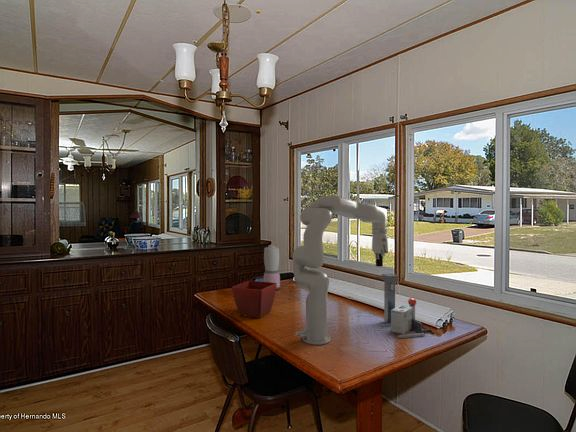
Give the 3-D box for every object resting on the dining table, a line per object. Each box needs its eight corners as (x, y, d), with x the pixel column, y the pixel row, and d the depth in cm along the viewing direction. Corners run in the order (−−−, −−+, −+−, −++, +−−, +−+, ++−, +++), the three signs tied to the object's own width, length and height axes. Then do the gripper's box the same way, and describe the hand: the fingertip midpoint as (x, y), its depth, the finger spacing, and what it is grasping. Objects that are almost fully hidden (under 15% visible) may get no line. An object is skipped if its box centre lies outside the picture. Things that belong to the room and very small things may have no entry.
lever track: (423, 335, 165) (423, 332, 165) (402, 321, 184) (402, 319, 184) (434, 334, 166) (434, 331, 166) (412, 321, 185) (412, 318, 185)
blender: (275, 291, 252) (275, 247, 251) (260, 289, 257) (260, 246, 256) (284, 287, 266) (284, 245, 265) (270, 285, 271) (270, 244, 270)
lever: (411, 325, 177) (411, 299, 177) (406, 322, 182) (406, 297, 182) (418, 325, 178) (418, 299, 178) (413, 322, 183) (413, 296, 183)
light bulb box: (399, 325, 178) (399, 304, 178) (412, 328, 174) (412, 307, 174) (390, 331, 170) (390, 309, 170) (404, 334, 166) (404, 311, 165)
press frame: (398, 338, 161) (398, 284, 160) (375, 321, 185) (375, 274, 184) (425, 336, 163) (425, 283, 163) (399, 319, 187) (399, 273, 187)
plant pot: (231, 316, 194) (230, 286, 193) (249, 307, 211) (249, 280, 210) (261, 321, 185) (260, 290, 185) (277, 311, 203) (277, 282, 202)
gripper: (392, 232, 179) (392, 268, 179) (379, 230, 193) (379, 263, 194) (378, 232, 177) (378, 268, 178) (366, 230, 192) (366, 264, 192)
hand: (379, 266), depth 186 cm, fingers closed
